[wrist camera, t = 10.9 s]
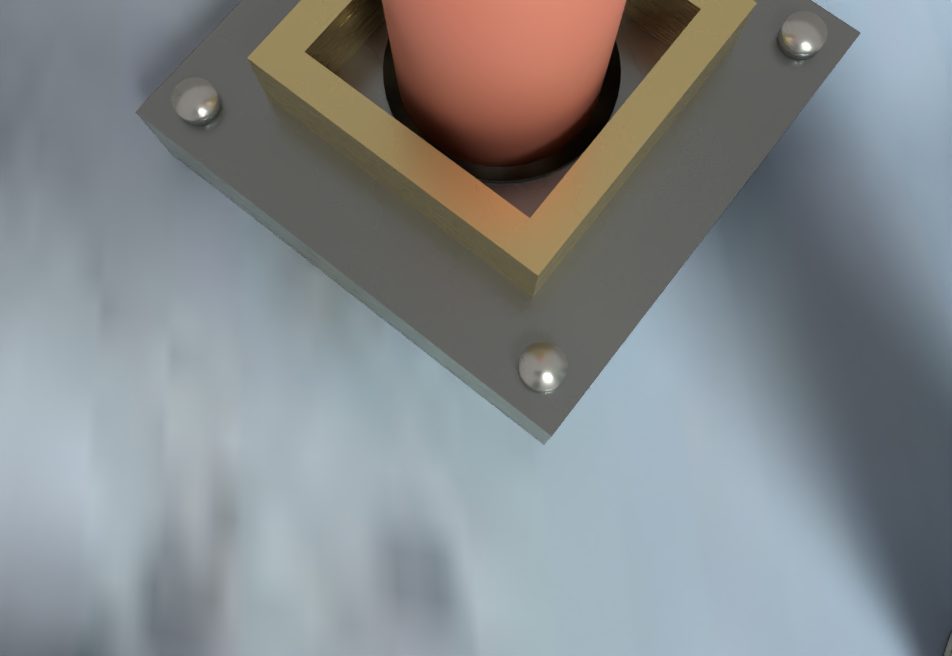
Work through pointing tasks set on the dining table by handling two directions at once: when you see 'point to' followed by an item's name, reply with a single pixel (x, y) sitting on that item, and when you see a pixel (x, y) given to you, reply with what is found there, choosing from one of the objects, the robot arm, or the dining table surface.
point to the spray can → (949, 647)
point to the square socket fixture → (496, 176)
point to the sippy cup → (501, 72)
